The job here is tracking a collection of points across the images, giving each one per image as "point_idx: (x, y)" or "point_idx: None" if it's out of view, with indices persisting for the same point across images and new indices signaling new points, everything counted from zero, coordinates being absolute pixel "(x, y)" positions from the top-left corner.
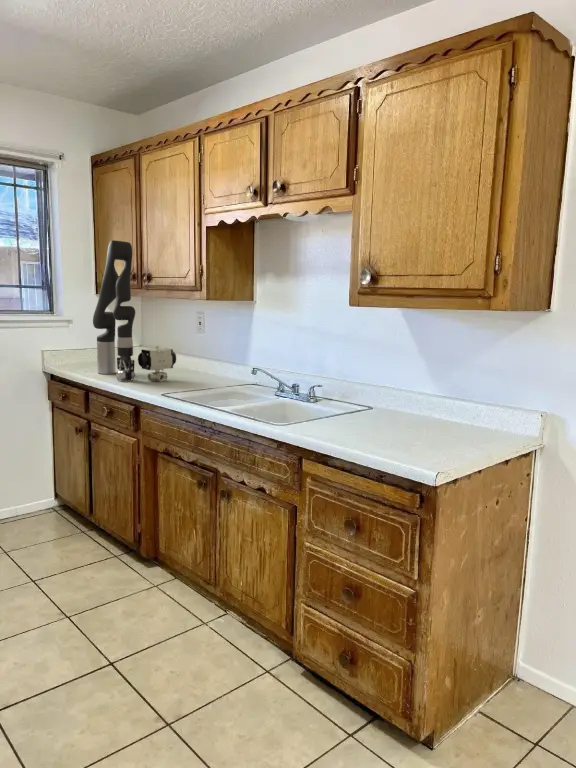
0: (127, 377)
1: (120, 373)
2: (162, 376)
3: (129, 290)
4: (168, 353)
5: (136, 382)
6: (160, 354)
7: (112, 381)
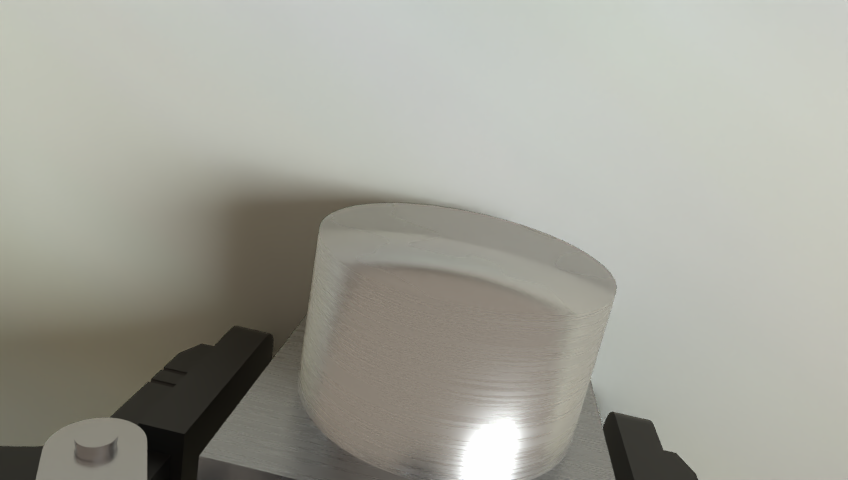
0: (224, 352)
1: (333, 278)
2: None
3: None
4: None
5: (67, 364)
6: None
7: (584, 84)
